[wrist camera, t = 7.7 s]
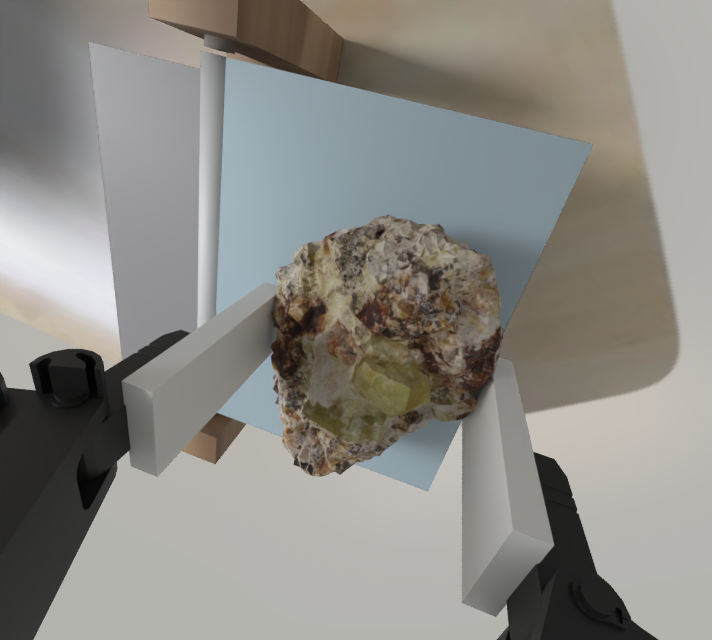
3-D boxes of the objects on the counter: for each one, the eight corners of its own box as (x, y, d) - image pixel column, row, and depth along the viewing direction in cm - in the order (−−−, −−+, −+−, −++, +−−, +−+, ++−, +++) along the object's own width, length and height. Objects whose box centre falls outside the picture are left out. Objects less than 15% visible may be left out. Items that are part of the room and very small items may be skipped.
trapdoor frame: (221, 342, 29) (119, 426, 21) (237, 15, 20) (56, -89, 11) (290, 366, 29) (215, 464, 20) (343, 38, 19) (240, -53, 10)
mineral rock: (293, 140, 9) (583, 346, 7) (374, 158, 13) (582, 298, 11) (197, 407, 15) (345, 567, 13) (273, 367, 18) (398, 486, 16)
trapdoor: (199, 319, 27) (112, 376, 20) (203, 62, 20) (68, 19, 13) (436, 399, 25) (427, 494, 18) (543, 144, 17) (595, 144, 11)
